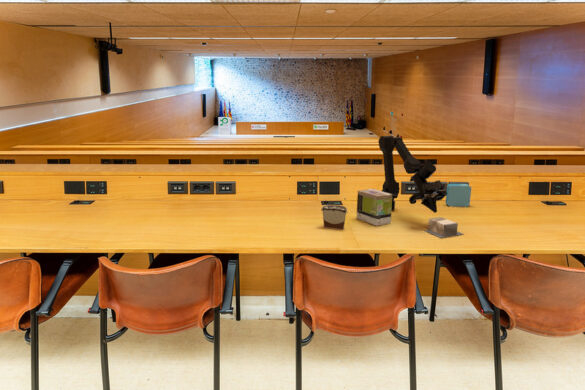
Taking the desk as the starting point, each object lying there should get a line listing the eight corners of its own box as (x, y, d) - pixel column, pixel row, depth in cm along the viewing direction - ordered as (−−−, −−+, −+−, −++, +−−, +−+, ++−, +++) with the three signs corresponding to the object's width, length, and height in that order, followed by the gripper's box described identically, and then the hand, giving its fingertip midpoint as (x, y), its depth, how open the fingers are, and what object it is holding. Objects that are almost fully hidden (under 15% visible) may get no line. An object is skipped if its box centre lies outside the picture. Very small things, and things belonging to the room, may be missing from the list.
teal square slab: (467, 204, 253) (469, 184, 250) (469, 207, 248) (471, 185, 245) (445, 204, 253) (447, 183, 250) (447, 206, 249) (449, 185, 246)
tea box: (391, 223, 218) (393, 193, 215) (375, 226, 213) (377, 196, 210) (371, 215, 231) (372, 187, 227) (355, 218, 226) (356, 189, 222)
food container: (349, 226, 214) (350, 205, 211) (346, 230, 208) (347, 209, 206) (324, 223, 218) (324, 203, 215) (320, 227, 212) (321, 206, 210)
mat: (424, 231, 207) (424, 230, 207) (446, 227, 212) (446, 226, 212) (441, 238, 197) (441, 237, 197) (463, 234, 203) (463, 233, 202)
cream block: (428, 218, 208) (445, 225, 198) (440, 216, 211) (457, 223, 201) (427, 228, 209) (444, 236, 199) (439, 227, 212) (456, 234, 202)
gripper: (414, 176, 205) (429, 205, 198) (446, 173, 213) (461, 201, 206) (402, 189, 214) (416, 217, 207) (433, 186, 222) (447, 213, 214)
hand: (435, 212), depth 208 cm, fingers closed
